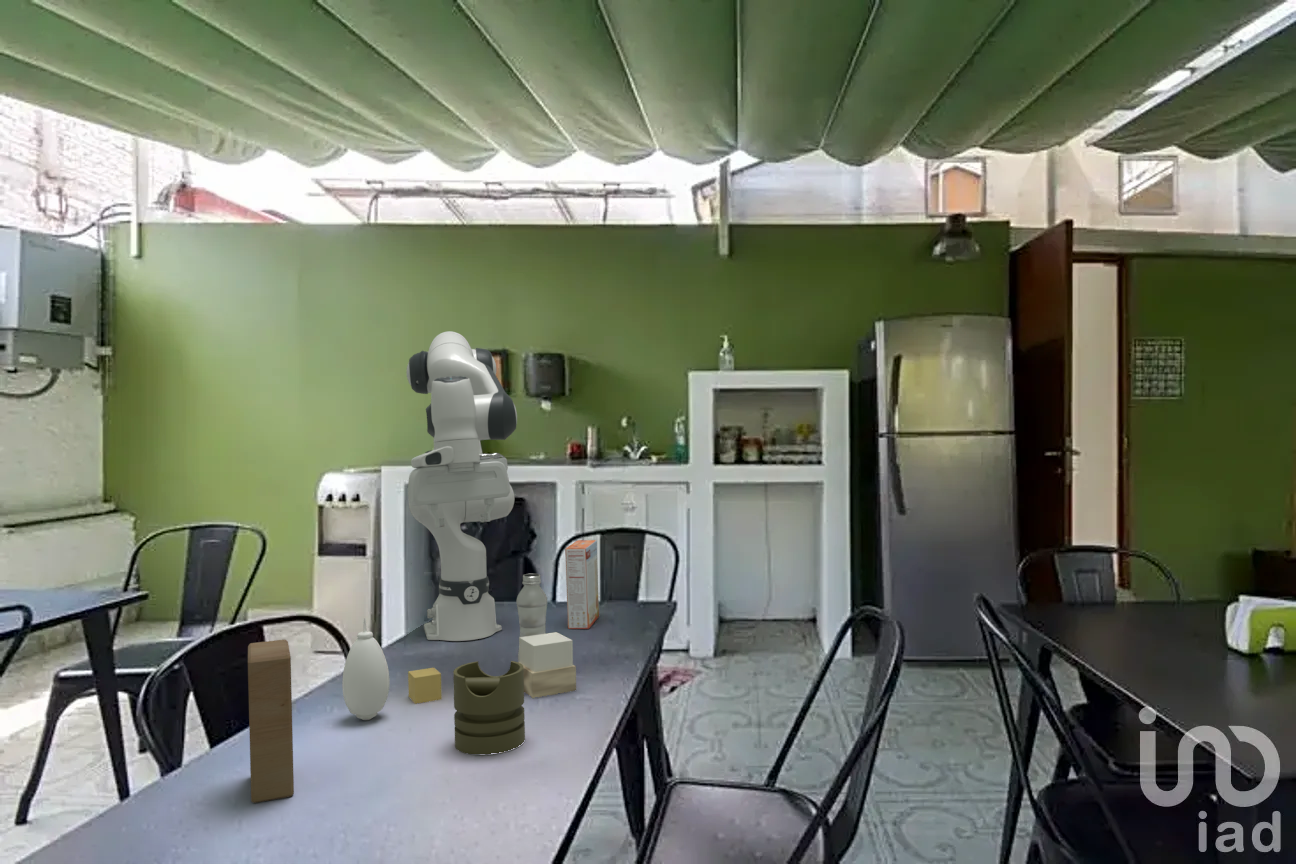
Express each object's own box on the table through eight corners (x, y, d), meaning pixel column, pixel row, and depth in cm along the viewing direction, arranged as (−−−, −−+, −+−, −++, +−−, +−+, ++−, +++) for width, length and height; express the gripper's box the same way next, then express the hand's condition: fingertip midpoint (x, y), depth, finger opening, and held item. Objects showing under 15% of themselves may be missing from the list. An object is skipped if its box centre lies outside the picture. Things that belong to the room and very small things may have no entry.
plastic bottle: (544, 674, 181) (542, 578, 181) (513, 672, 182) (511, 577, 182) (553, 665, 187) (551, 572, 187) (523, 664, 188) (521, 572, 188)
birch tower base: (516, 687, 173) (515, 662, 173) (557, 680, 177) (557, 655, 177) (532, 699, 165) (532, 673, 165) (576, 691, 169) (575, 666, 169)
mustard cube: (408, 697, 167) (408, 671, 167) (434, 693, 170) (433, 667, 170) (415, 704, 163) (414, 677, 163) (441, 699, 165) (441, 673, 165)
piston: (516, 678, 136) (445, 679, 137) (518, 755, 137) (446, 755, 137) (528, 659, 148) (462, 660, 148) (530, 729, 148) (464, 730, 148)
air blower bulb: (398, 713, 158) (396, 614, 157) (371, 727, 150) (369, 623, 150) (362, 709, 160) (360, 612, 160) (334, 723, 153) (331, 621, 153)
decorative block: (251, 775, 130) (248, 642, 130) (292, 769, 132) (289, 638, 132) (249, 805, 120) (246, 660, 120) (294, 797, 122) (290, 655, 122)
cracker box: (577, 617, 234) (576, 539, 234) (599, 617, 233) (598, 539, 233) (565, 629, 220) (564, 547, 220) (589, 629, 219) (587, 547, 219)
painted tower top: (519, 662, 173) (519, 637, 172) (556, 656, 176) (556, 632, 176) (534, 672, 166) (534, 646, 165) (572, 665, 169) (572, 640, 169)
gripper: (500, 453, 182) (506, 519, 181) (402, 460, 172) (408, 530, 171) (511, 451, 177) (517, 519, 176) (411, 458, 166) (417, 530, 166)
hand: (463, 524), depth 173 cm, fingers open, 8 cm apart
